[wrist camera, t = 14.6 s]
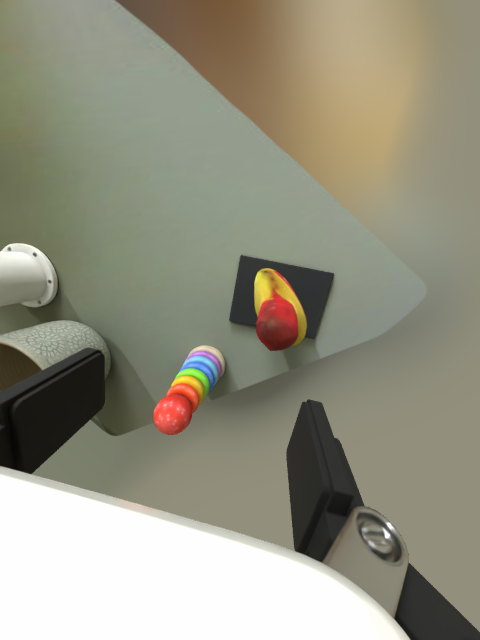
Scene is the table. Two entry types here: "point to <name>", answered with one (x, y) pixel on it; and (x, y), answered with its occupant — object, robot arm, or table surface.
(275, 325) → the bottle
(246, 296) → the flat black rectangular pad
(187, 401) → the stacking toy
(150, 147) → the table surface
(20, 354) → the planter
